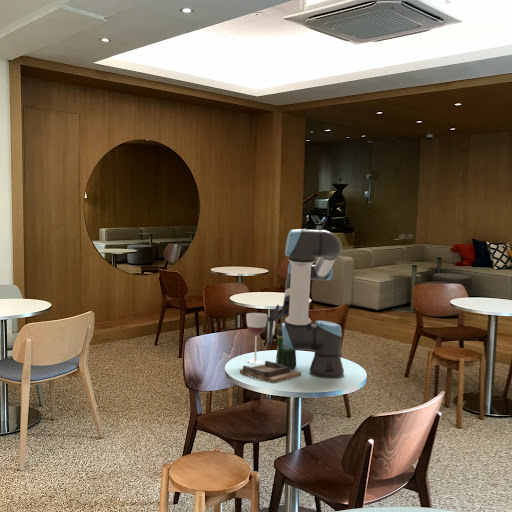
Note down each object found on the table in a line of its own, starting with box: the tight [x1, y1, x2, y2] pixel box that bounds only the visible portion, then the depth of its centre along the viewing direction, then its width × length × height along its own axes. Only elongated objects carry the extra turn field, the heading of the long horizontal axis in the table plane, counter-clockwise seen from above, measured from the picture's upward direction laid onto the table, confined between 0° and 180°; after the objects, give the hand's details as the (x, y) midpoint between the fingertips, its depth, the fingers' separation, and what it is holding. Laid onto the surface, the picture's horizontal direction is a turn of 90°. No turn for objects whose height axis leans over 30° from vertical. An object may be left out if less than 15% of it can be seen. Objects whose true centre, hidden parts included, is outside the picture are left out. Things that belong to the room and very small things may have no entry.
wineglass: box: [245, 312, 268, 363], centre depth 270 cm, size 9×10×23 cm
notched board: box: [239, 360, 302, 384], centre depth 249 cm, size 20×18×4 cm
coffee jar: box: [275, 326, 297, 369], centre depth 263 cm, size 10×8×19 cm
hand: (287, 334), depth 267 cm, fingers open, 13 cm apart
